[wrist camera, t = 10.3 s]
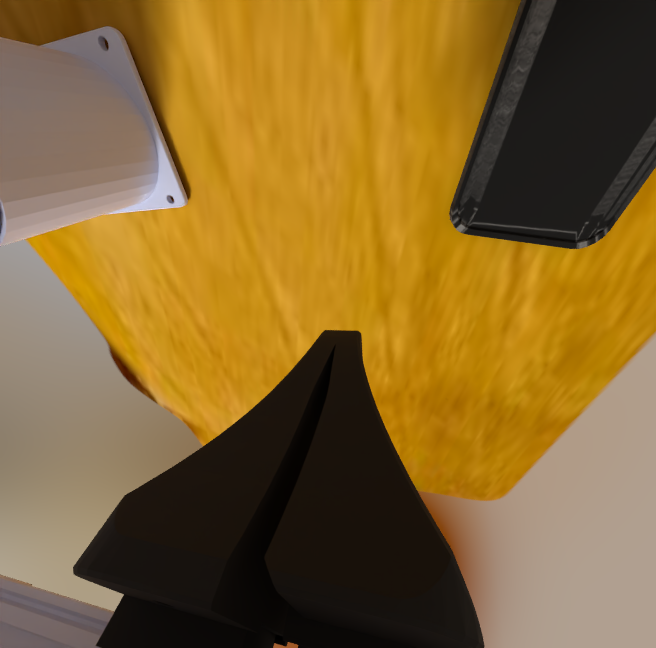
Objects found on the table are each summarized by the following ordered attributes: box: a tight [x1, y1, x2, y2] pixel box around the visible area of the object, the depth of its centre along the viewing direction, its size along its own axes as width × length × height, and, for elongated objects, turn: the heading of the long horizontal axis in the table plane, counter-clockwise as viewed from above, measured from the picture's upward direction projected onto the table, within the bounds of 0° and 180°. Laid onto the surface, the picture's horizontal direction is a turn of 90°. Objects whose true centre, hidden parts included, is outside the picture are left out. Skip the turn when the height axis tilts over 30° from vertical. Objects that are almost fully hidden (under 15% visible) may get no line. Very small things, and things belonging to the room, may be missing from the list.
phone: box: [449, 0, 656, 249], centre depth 10 cm, size 8×1×15 cm
